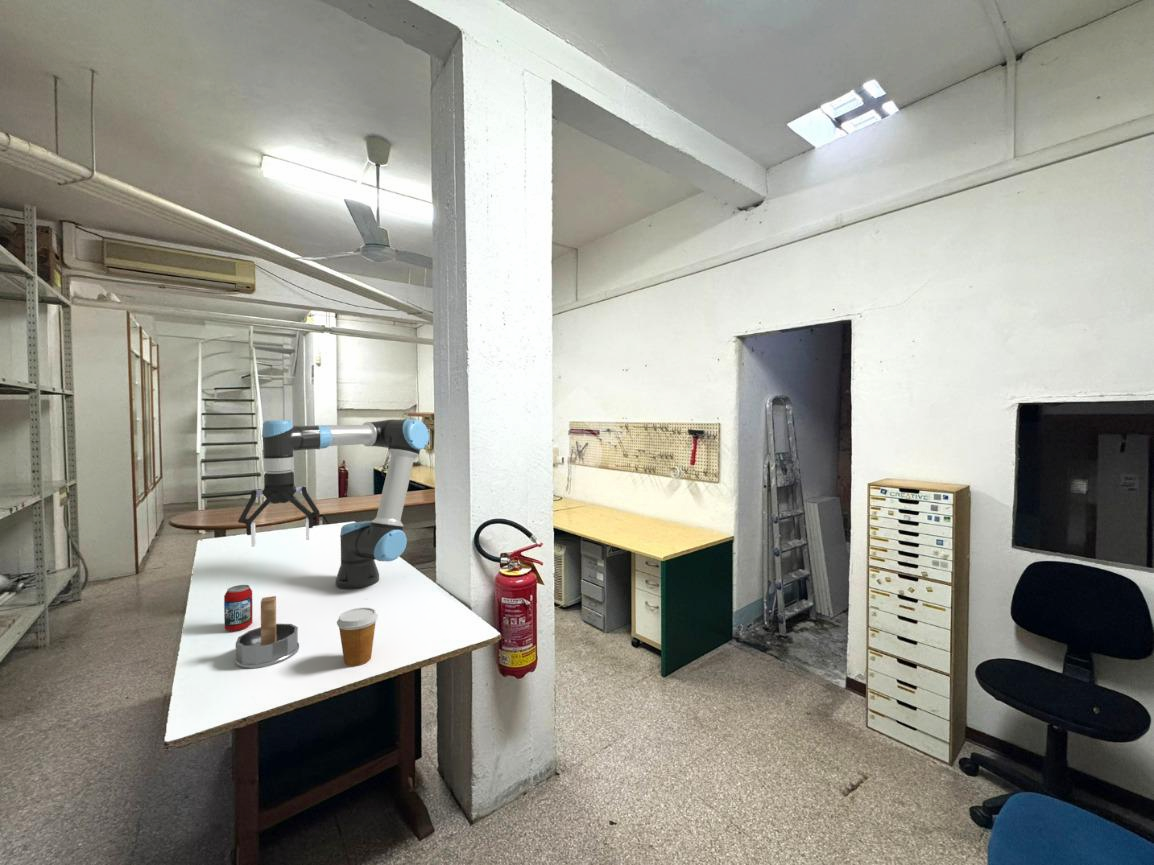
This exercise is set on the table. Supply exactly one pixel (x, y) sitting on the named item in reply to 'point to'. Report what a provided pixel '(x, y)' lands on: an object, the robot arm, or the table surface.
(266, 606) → the long wooden beam
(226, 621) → the beverage can
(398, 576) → the table surface
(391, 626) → the table surface
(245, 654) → the tin
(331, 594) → the table surface
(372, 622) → the disposable coffee cup
